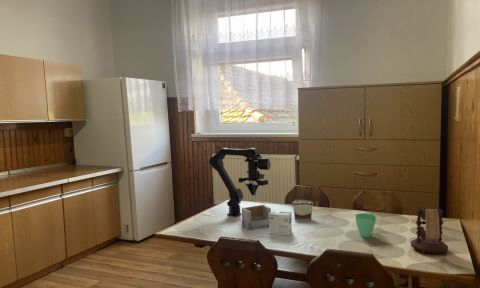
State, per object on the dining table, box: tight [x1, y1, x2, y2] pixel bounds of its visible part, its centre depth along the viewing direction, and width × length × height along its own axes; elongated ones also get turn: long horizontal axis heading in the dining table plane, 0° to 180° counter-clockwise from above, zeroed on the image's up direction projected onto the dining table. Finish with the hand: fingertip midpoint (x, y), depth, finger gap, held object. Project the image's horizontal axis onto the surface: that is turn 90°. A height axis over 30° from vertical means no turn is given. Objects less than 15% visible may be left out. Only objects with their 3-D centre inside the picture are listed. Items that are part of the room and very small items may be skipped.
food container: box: [291, 199, 315, 220], centre depth 220 cm, size 12×6×10 cm, turn 84°
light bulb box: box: [268, 210, 293, 236], centre depth 194 cm, size 11×7×11 cm, turn 71°
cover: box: [241, 204, 266, 221], centre depth 209 cm, size 1×14×10 cm, turn 117°
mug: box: [355, 212, 377, 238], centre depth 189 cm, size 15×10×10 cm
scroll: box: [410, 205, 449, 254], centre depth 166 cm, size 15×15×20 cm
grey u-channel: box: [241, 205, 272, 231], centre depth 205 cm, size 6×16×10 cm, turn 118°
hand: (253, 195), depth 224 cm, fingers closed
